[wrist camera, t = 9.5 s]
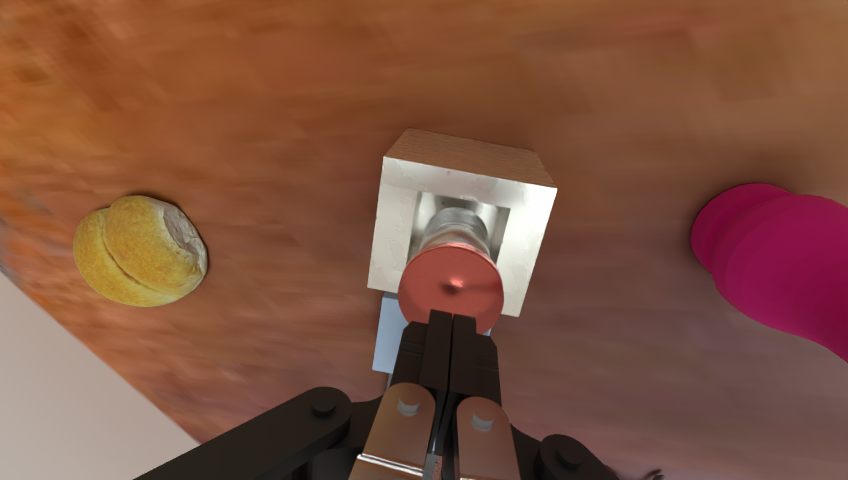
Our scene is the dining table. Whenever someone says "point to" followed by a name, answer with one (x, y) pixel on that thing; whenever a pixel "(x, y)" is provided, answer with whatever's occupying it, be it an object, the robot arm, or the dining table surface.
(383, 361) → the carriage
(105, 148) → the dining table surface
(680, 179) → the dining table surface
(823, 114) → the dining table surface
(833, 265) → the pepper mill
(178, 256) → the bread roll
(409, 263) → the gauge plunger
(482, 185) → the rail station
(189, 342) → the dining table surface
